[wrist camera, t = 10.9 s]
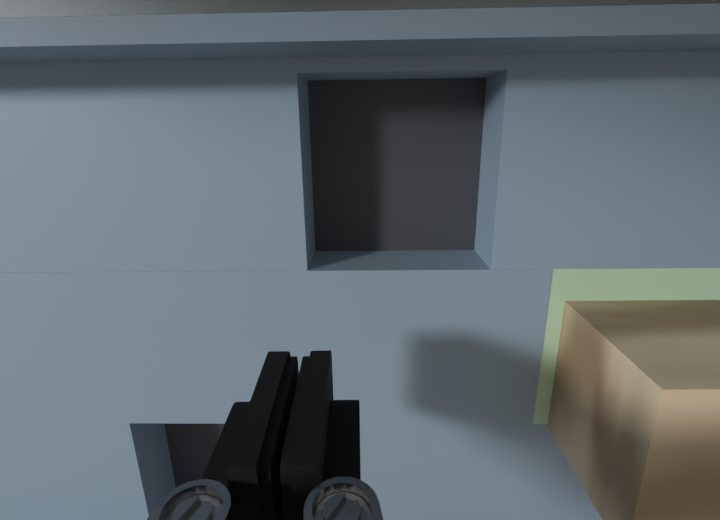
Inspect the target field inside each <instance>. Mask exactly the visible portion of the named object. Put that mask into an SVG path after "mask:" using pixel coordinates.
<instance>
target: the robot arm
mask: <svg viewBox="0 0 720 520" xmlns="http://www.w3.org/2000/svg"><path fill="white" fill-rule="evenodd" d="M147 520H383V516H382V512H381V507H380V503H379V500H378V498H377V495H376V493H375V491H374V490H373V489H372V488H371V487H370V486H369V485H368V484H366V483H365V482H363V481H361V469H360V405H359V400H333V375H332V353H331V350H327V351H311V352H310V356H303V358H302V362H301V367H300V371H299V369H298V358H297V356H293V357H291V355H290V352H289V351H269V352H268V353H267V356H266V359H265V362H264V364H263V367H262V370H261V373H260V375H259V378H258V381H257V383H256V386H255V389H254V392H253V394H252V397H251V400H250V402H235V403H234V404H233V406H232V408H231V410H230V412H229V415H228V417H227V420H226V422H225V424H224V427H223V429H222V432H221V434H220V436H219V439H218V441H217V443H216V446H215V448H214V451H213V453H212V455H211V458H210V460H209V463H208V465H207V467H206V470H205V472H204V474H203V477H202V479H198V480H194V481H190V482H186V483H184V484H182V485H180V486H178V487H176V488H174V489H173V490H172V491H170V492H169V493H168V494H166V495H165V496H164V497H163V498H162V499H161V501H160V502H159V503H158V504H157V505H156V507H155V508H154V510H153V511H152V512H151V514H150V515H149V517H148V518H147Z"/></svg>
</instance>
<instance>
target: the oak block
mask: <svg viewBox="0 0 720 520" xmlns="http://www.w3.org/2000/svg"><path fill="white" fill-rule="evenodd" d="M547 427H548V428H549V430H550V432H551V434H552V435H553V437H554V439H555V440H556V442H557V444H558V445H559V447H560V449H561V451H562V452H563V454H564V456H565V457H566V459H567V461H568V462H569V464H570V466H571V468H572V469H573V471H574V473H575V474H576V476H577V478H578V479H579V481H580V483H581V484H582V486H583V488H584V490H585V491H586V493H587V495H588V496H589V498H590V500H591V501H592V503H593V505H594V507H595V508H596V510H597V512H598V513H599V515H600V517H601V518H602V520H720V301H719V300H625V301H565V303H564V310H563V317H562V324H561V332H560V339H559V346H558V353H557V361H556V368H555V375H554V382H553V390H552V397H551V404H550V411H549V419H548V426H547Z"/></svg>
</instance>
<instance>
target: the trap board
mask: <svg viewBox="0 0 720 520" xmlns="http://www.w3.org/2000/svg"><path fill="white" fill-rule="evenodd" d="M625 300H719V301H720V3H710V4H660V5H610V6H560V7H509V8H459V9H409V10H359V11H309V12H258V13H208V14H158V15H108V16H57V17H7V18H0V520H147V518H148V517H149V515H150V514H151V512H152V511H153V510H154V508H155V507H156V505H157V504H158V503H159V502H160V501H161V499H162V498H163V497H164V496H165V495H166V494H168V493H169V492H170V491H172V490H173V489H174V488H176V487H178V486H180V485H182V484H184V483H186V482H190V481H194V480H198V479H202V477H203V474H204V472H205V470H206V467H207V465H208V463H209V460H210V458H211V455H212V453H213V451H214V448H215V446H216V443H217V441H218V439H219V436H220V434H221V432H222V429H223V427H224V424H225V422H226V420H227V417H228V415H229V412H230V410H231V408H232V406H233V404H234V403H235V402H250V400H251V397H252V394H253V392H254V389H255V386H256V383H257V381H258V378H259V375H260V373H261V370H262V367H263V364H264V362H265V359H266V356H267V353H268V352H269V351H289V352H290V355H291V357H293V356H297V358H298V369H299V371H300V367H301V362H302V358H303V356H310V352H311V351H327V350H331V353H332V375H333V400H359V405H360V469H361V481H363V482H365V483H366V484H368V485H369V486H370V487H371V488H372V489H373V490H374V491H375V493H376V495H377V498H378V500H379V503H380V507H381V512H382V516H383V520H602V518H601V517H600V515H599V513H598V512H597V510H596V508H595V507H594V505H593V503H592V501H591V500H590V498H589V496H588V495H587V493H586V491H585V490H584V488H583V486H582V484H581V483H580V481H579V479H578V478H577V476H576V474H575V473H574V471H573V469H572V468H571V466H570V464H569V462H568V461H567V459H566V457H565V456H564V454H563V452H562V451H561V449H560V447H559V445H558V444H557V442H556V440H555V439H554V437H553V435H552V434H551V432H550V430H549V428H548V427H547V426H548V419H549V411H550V404H551V397H552V390H553V382H554V375H555V368H556V361H557V353H558V346H559V339H560V332H561V324H562V317H563V310H564V303H565V301H625Z"/></svg>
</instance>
